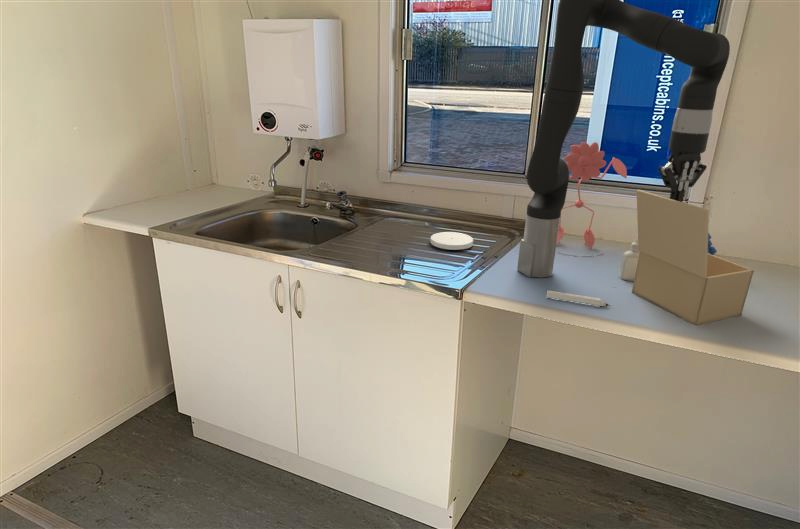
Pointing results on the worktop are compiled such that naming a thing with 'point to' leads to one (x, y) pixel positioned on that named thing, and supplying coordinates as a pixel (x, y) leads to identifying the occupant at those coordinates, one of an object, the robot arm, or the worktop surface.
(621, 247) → the worktop surface
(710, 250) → the grapes
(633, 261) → the eye dropper bottle
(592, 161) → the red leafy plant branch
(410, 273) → the worktop surface
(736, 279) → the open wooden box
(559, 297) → the marker
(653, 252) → the lid flap
